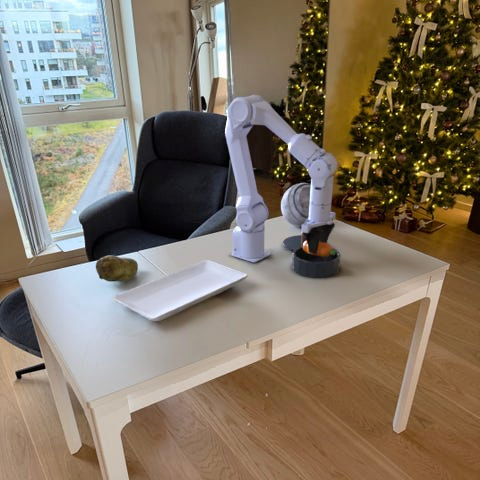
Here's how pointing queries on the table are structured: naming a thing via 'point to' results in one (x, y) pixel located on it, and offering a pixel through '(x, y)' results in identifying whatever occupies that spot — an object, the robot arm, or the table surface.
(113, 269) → the potato
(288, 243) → the lid
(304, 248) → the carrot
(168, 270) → the table surface
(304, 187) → the decorative orb
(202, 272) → the tray
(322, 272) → the pan
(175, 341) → the table surface
